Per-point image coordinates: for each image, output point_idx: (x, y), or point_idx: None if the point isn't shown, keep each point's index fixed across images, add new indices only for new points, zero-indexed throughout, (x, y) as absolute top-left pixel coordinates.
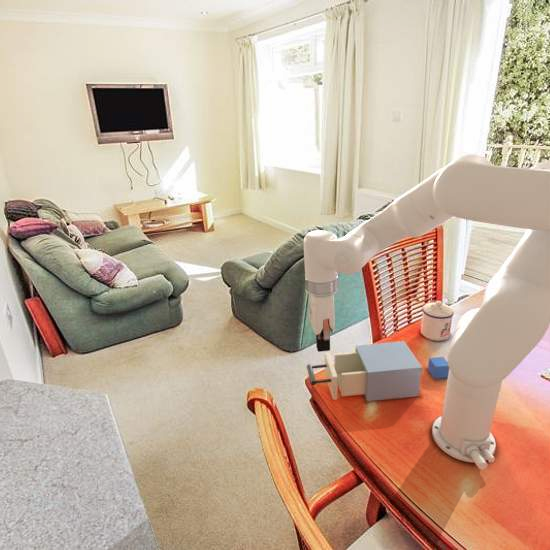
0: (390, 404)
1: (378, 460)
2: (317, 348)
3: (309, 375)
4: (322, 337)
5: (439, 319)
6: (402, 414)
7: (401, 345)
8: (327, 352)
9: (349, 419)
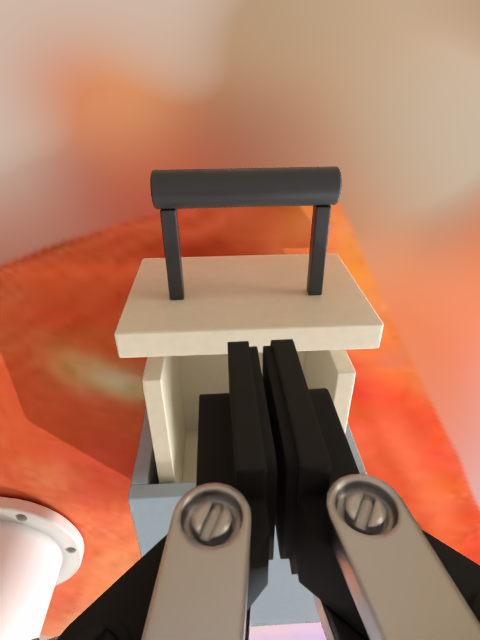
0: (136, 435)
1: None
2: (229, 360)
3: (223, 174)
4: (83, 620)
5: None
6: (89, 453)
7: (311, 611)
8: (378, 339)
9: (47, 299)
